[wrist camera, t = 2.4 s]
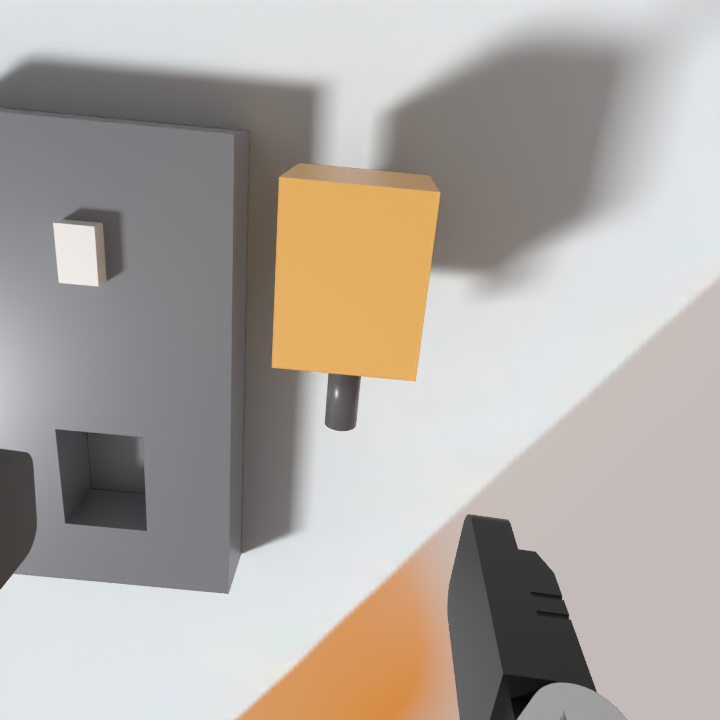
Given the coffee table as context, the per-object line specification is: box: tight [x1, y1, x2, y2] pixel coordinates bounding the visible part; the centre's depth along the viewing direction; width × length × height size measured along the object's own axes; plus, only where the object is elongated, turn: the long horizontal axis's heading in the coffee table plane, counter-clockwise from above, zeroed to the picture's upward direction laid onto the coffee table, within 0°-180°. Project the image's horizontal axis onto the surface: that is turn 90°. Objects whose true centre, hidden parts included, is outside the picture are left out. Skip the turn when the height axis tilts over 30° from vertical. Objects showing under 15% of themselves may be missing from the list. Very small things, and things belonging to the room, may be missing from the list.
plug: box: [272, 163, 441, 431], centre depth 25 cm, size 9×5×8 cm, turn 175°
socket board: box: [0, 108, 250, 594], centre depth 29 cm, size 22×12×4 cm, turn 175°
